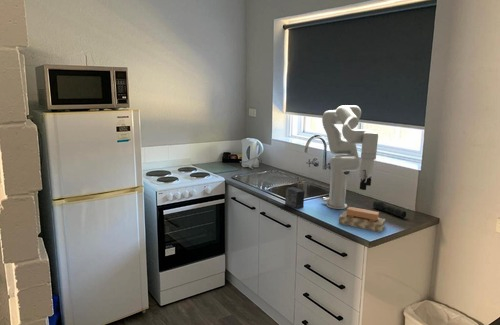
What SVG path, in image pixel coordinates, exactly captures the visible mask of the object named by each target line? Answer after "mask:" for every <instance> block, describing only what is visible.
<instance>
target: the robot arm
mask: <svg viewBox="0 0 500 325" xmlns="http://www.w3.org/2000/svg"><path fill="white" fill-rule="evenodd" d="M361 116H362V110H361V108H360V107H359V106H358V105H354V104H353V105H348V104H347V105H346V104H345V105H340V106H338V107H337V108H336V109H333V110H332V109H330V110H326V111H324V113H323V114H322V118H321V122H322V126H323V129H324V131H325V133H326V137H327V142H328V146H329V152H330V153H331V154H332V155H334V156H332V157H331V158H330V160H329V165H330V181H329V182H330V183H329V194H328V195H329V196H328V197H327V196H326V197H324V196H323V197H322V201H323V202H326V203H325V206H326V207H328V208H330V209H334V210H346V209H347V208H348V204H347V203H346V196H347V195H346V193H347V192H346V191H347V181H348V178H347V176H346V174H345V173H344V172H355V171H358V170H359V173H358V174H359V175H358V177H359V178H360V182H359V183H360V184H359V190H362V191H366V190H367V186H368V187H371V185H372V175H373V172H374V165H375V164H374V163H375V162H374V161H376V159H377V151H378V140H379V134H378V132H376V131H372V130H370V129H355V128H356V127H358V125H359V122H360V121H359V120H360V119H361ZM336 125H342V129H341V130H340V129H339V128H338V127H337V126H336ZM341 132H342V133H341ZM358 144H359V145H360V144H361V150H360V156H359V152H358V148H357V145H358ZM360 159H361V162H360Z"/></svg>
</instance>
